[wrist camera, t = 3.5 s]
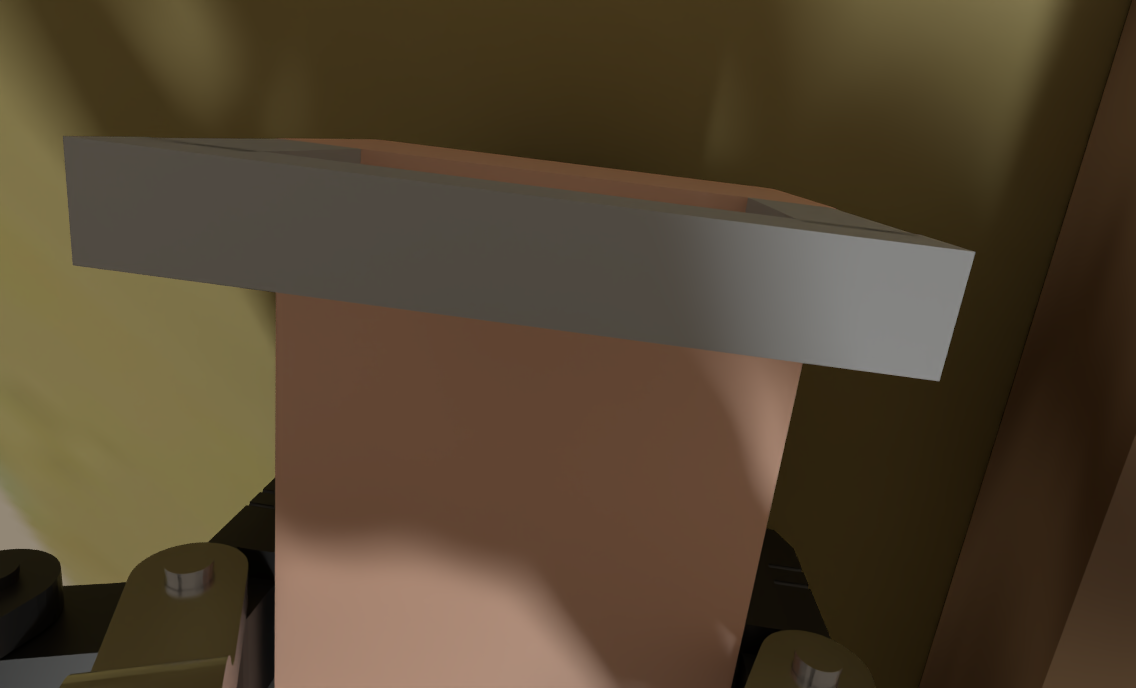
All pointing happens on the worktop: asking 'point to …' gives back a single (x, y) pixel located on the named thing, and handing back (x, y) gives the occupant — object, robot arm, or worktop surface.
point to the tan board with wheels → (517, 389)
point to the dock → (1063, 454)
